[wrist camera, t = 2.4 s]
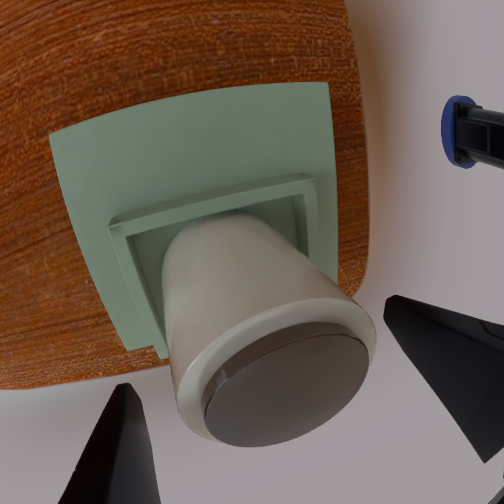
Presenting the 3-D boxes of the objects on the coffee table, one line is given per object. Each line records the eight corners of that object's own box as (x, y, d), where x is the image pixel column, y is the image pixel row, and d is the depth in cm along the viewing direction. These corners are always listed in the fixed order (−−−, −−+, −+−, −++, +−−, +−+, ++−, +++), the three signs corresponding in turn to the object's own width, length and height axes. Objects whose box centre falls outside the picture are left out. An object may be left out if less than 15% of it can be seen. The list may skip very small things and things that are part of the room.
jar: (280, 196, 13) (403, 275, 6) (290, 305, 15) (369, 411, 9) (143, 229, 11) (139, 363, 5) (180, 338, 14) (212, 471, 8)
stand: (298, 87, 14) (343, 79, 10) (313, 266, 19) (349, 299, 15) (68, 132, 11) (36, 135, 7) (128, 318, 16) (126, 367, 12)
